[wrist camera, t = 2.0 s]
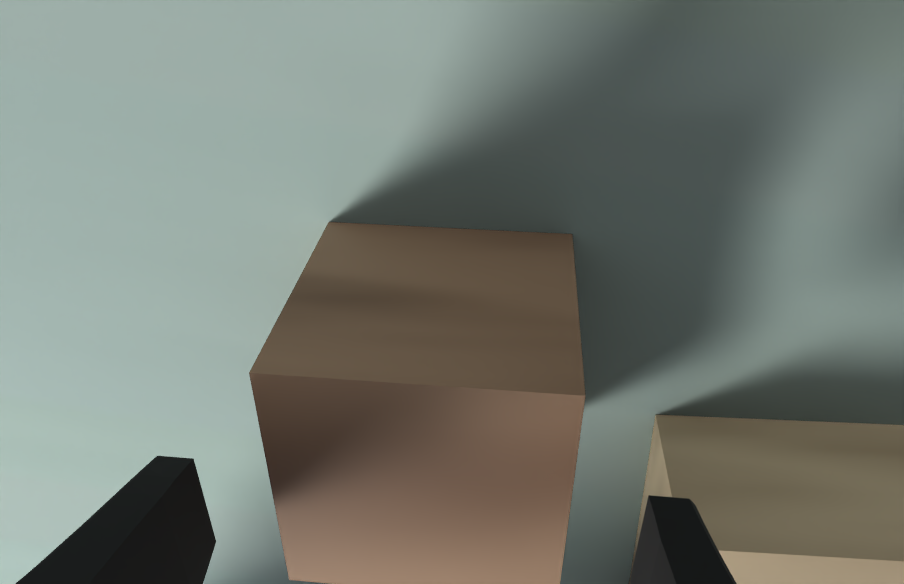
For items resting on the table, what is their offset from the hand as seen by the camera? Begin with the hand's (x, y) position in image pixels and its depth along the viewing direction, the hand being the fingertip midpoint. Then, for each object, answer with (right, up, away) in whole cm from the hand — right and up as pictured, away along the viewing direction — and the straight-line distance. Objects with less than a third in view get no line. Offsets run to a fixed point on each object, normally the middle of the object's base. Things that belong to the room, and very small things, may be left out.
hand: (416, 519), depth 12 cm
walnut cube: (+1, +3, +5) cm, 6 cm away
